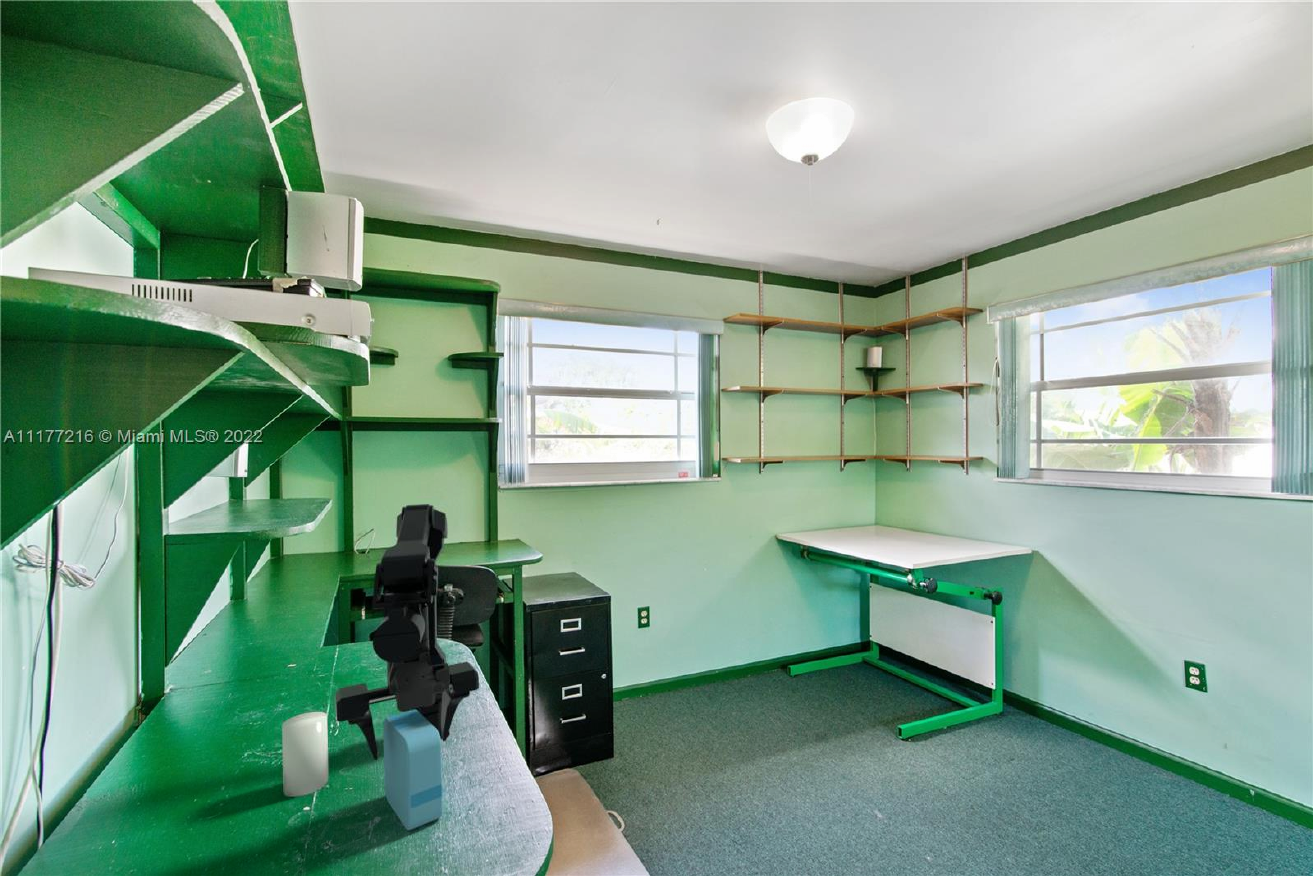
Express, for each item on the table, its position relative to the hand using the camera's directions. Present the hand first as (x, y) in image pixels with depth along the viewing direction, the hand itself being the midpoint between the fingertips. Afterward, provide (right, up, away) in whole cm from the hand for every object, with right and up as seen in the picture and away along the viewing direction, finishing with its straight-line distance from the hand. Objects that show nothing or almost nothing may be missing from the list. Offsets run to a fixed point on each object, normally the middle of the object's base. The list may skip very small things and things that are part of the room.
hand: (410, 749), depth 85 cm
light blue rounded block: (+1, -8, -1) cm, 8 cm away
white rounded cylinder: (-19, -9, +6) cm, 22 cm away
